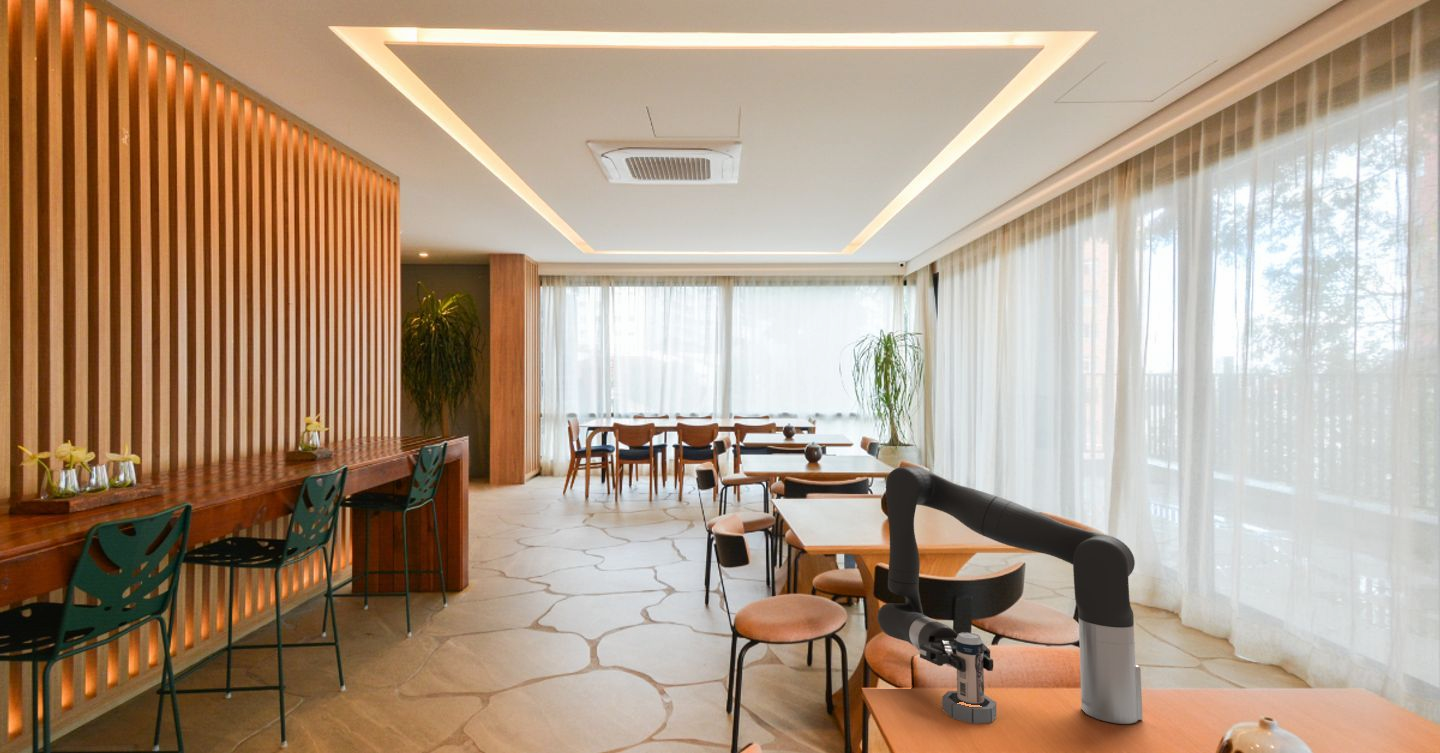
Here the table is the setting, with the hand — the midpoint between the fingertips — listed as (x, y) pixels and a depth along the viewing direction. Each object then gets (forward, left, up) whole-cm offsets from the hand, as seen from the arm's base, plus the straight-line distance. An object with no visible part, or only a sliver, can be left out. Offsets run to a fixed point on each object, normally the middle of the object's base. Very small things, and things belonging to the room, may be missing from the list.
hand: (977, 665), depth 121 cm
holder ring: (0, -3, -10) cm, 10 cm away
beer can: (0, -3, -7) cm, 8 cm away
